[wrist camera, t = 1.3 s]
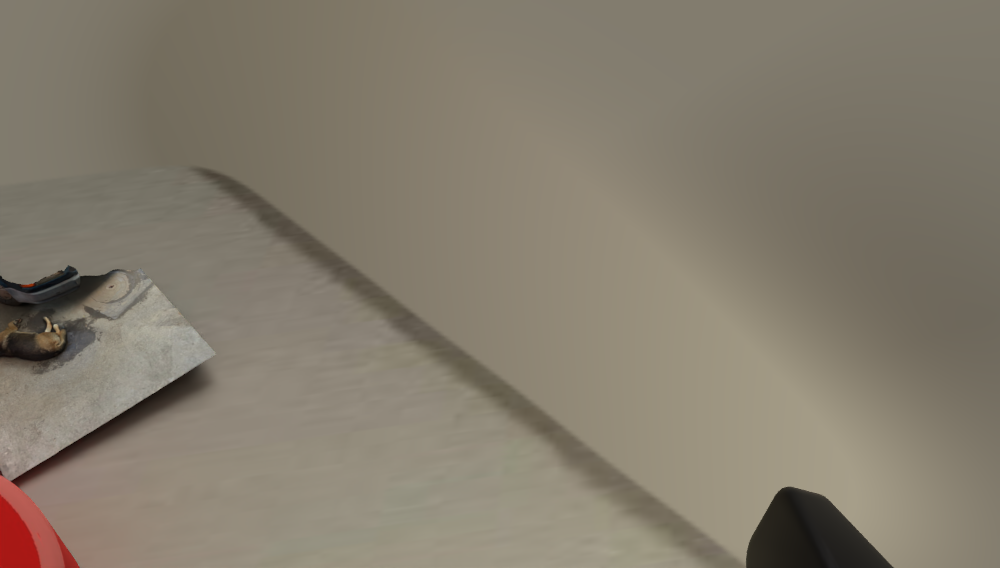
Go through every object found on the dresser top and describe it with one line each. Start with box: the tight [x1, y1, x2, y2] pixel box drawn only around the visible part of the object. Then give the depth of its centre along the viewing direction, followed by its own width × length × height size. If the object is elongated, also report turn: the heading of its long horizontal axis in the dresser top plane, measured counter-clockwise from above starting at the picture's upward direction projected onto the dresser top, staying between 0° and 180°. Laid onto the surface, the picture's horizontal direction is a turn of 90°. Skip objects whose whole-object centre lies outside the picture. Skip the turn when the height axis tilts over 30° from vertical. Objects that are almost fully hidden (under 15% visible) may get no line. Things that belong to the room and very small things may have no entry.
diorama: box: [0, 265, 216, 481], centre depth 23 cm, size 8×12×2 cm
